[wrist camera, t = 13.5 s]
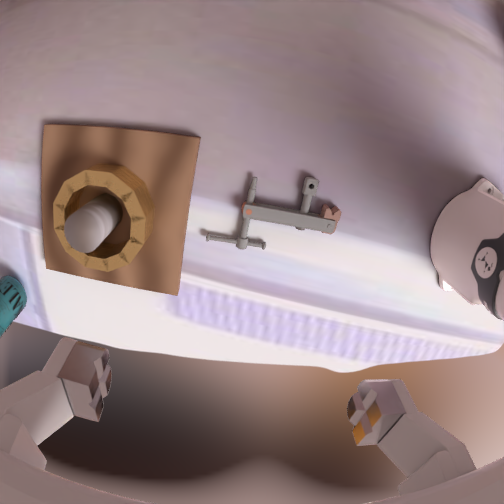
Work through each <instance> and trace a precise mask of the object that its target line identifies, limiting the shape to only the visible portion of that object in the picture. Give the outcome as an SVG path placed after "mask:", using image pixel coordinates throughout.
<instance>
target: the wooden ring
mask: <svg viewBox="0 0 504 504" xmlns="http://www.w3.org/2000/svg"><path fill="white" fill-rule="evenodd" d="M87 185H93V186H101V187H107V188H108V189H109V190H110V191H112V192H113V193H114V194H116V195H117V196H118V197H119V198H121V199H122V200H123V202H124V204H125V207H126V209H127V211H128V213H129V216H130V218H131V231H130V239H129V240H127V241H124V242H122V243H119V244H117V245H115V244H109V243H104V242H101V244H100V245H99V246H98V247H97V248H96V249H95V250H94V251H92V252H89V253H82V252H79V251H77V250H75V249H74V248H73V247H71V245H70V244H69V243H68V241H67V239H66V237H65V233H64V225H65V222H66V220H67V218H68V217H69V216H70V215H72V214H73V213H74V212H76V211H77V210H78V209H79V202H80V197H81V195H82V193H83V192H84V190H85V188H86V186H87ZM154 211H155V205H154V203H153V201H152V198H151V196H150V194H149V191H148V189H147V187H146V184H145V182H144V181H143V180H141V179H140V178H139V177H138V176H136V175H135V174H134V173H133V172H131V171H130V170H129V169H128V168H126V167H125V166H121V165H113V164H104V163H99V164H97V165H95V166H93V167H90V168H88V169H86V170H84V171H82V172H80V173H79V174H77V175H75V176H73V177H71V178H70V179H68V180H66V181H64V183H63V185H62V187H61V189H60V191H59V193H58V195H57V197H56V199H55V201H54V203H53V218H54V230H55V232H56V234H57V236H58V238H59V240H60V242H61V244H62V246H63V248H64V250H65V251H66V252H67V253H68V254H69V255H70V256H72V257H73V258H74V259H75V260H77V261H78V262H79V263H80V264H82V265H83V266H84V267H87V268H92V269H97V270H101V271H106V272H109V271H112V270H115V269H117V268H120V267H123V266H126V265H129V264H130V263H131V262H132V260H133V259H134V257H135V256H136V255H137V253H138V252H139V250H140V249H141V248H142V246H143V245H144V244H145V242H146V240H147V239H148V237H149V236H150V234H151V233H152V231H153V221H154Z"/></svg>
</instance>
